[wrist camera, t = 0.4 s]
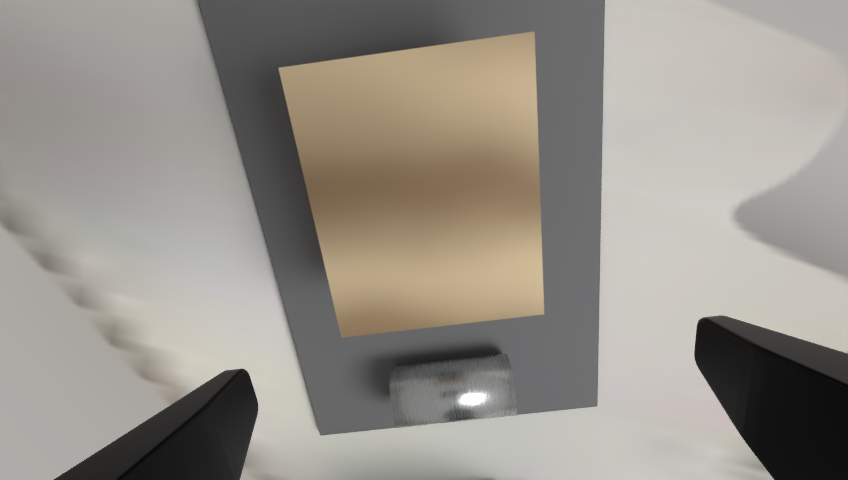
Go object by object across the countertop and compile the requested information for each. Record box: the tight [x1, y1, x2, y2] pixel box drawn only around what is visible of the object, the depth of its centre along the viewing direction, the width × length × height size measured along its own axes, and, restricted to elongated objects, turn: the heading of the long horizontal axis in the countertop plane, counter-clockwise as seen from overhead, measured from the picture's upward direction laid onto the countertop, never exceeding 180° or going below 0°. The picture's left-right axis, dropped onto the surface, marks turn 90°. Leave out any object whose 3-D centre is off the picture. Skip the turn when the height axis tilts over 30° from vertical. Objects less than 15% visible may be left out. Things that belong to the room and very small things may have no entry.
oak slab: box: [278, 31, 544, 338], centre depth 16 cm, size 10×8×2 cm
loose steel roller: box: [390, 354, 517, 428], centre depth 22 cm, size 3×6×3 cm, turn 97°
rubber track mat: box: [198, 0, 605, 435], centre depth 20 cm, size 30×16×1 cm, turn 7°
